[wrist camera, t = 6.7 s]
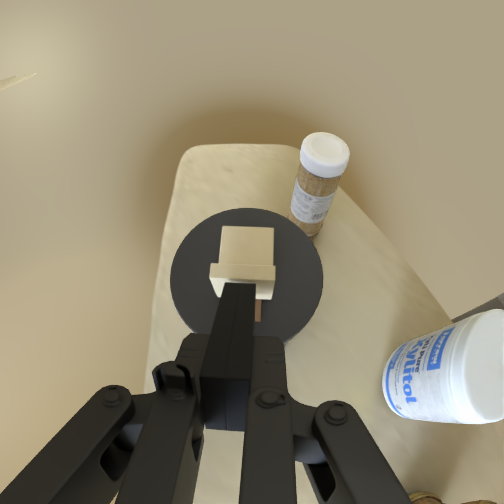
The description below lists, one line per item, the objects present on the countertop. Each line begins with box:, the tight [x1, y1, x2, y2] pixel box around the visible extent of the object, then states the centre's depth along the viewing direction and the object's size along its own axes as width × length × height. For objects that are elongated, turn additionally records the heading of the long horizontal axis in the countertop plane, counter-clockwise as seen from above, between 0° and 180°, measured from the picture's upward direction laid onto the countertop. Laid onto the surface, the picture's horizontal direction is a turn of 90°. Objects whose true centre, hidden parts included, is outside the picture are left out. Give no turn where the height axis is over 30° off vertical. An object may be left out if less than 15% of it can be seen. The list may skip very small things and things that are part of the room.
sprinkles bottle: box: [288, 132, 350, 237], centre depth 31 cm, size 5×5×13 cm
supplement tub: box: [382, 309, 504, 424], centre depth 22 cm, size 10×10×15 cm
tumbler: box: [170, 208, 323, 346], centre depth 25 cm, size 10×10×15 cm
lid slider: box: [209, 226, 275, 300], centre depth 17 cm, size 4×3×3 cm
